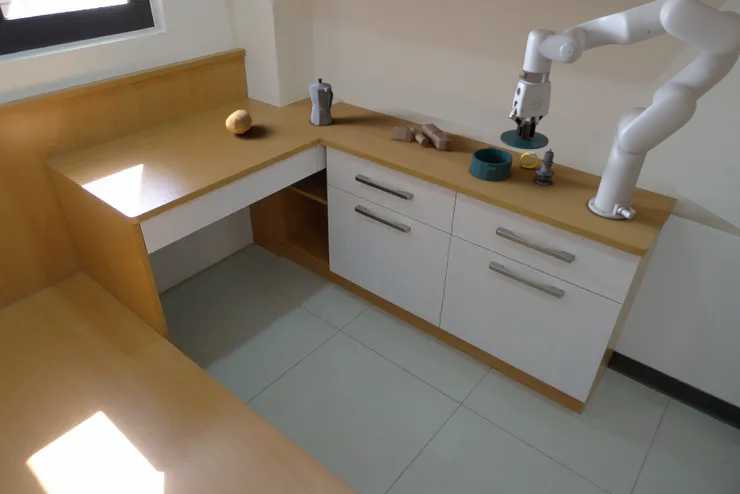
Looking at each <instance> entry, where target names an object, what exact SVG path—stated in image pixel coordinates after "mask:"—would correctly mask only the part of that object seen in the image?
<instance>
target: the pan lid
mask: <svg viewBox="0 0 740 494" xmlns="http://www.w3.org/2000/svg"><path fill="white" fill-rule="evenodd" d="M524 126H525V133H524V138H523V139H520V138H518V137H517V136H516V131H517V129H510V130H506V131H504V132H502V133H501V134H500V136H499V138H500V142H502V143H503V144H504V145H506V146H509V147H511V148H515V149H521V150H539V149H543V148H545V147H547V146H548V145H549V142H550V140H549V138H548V137H547V136H546V135H545V134H543V133H540V132H538V131H535V133H534V137H533V138H531V137H530V131H531V126H532V122H530V120H525V124H524Z"/></svg>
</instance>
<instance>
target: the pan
mask: <svg viewBox="0 0 740 494" xmlns="http://www.w3.org/2000/svg"><path fill="white" fill-rule="evenodd" d="M513 159H514V157H513V155H512V154H510V152H507V151H506V150H504V149H501V148H500V149H499V148H496V146H495V147H494V146H488V147H484V148H483V147H482V148H479V149H476V150H474V151H473V152H472V155H471V163H470V173H471V174H472V176H474V177H476V178H478V179H481V180H485V181H491V182H497V181H503V180H506V179H508V178H509V177H510V175H511V170H512V165H513V161H514V160H513Z"/></svg>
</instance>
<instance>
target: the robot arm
mask: <svg viewBox="0 0 740 494" xmlns="http://www.w3.org/2000/svg"><path fill="white" fill-rule="evenodd" d="M668 34H669V35H671V36H673V37H674V38H677V39H678V40H680V41H682V42H684V43H686V44H689V45H691V46H693V47H695V48H698V49H700V52H699V53H698V54H697V55H696V56H695V58H694V59H692V60H691V61H690V62H689V63H688V64H687V65H686V66H684V68H682V69H681V70H679V72H677V73H676V74H675V75H674V76H672V77H671V78H670V79H669V80H667V81H665V83H664V84H662V85H661V86H659V87H658V88H657V89H656V90H655V92H654V94H653V96H652V104H651V105H649V106H648V107H647V108H646V107H642V106H635V107H631V108H630V109H628V110H626V111H624V112H623V114H622V115H621V116H620V117H619V118H618V121H617V124H616V127H615V132H614V136H613V139H612V143H611V147H610V150H609V154H608V156H607V160H606V164H605V167H604V170H603V173H602V177H601V180H600V183H599V185H598V189H597V193H596V196H594V197H591V198H590V199H589V201H588V208H589V209H590V211H592V212H593V213H594V214H596V215H598V216H601V217H604V218H607V219H613V220H623V219H628V220H631V219H633V218H634V215H637V212H638V211H636V210H635V209H634V208H632V207H633V203H634V202H633V201H632V197H633V195H634V191H635V189H636V186H637V183H638V180H639V177H640V174H641V172H642V169H643V166H644V164H645V160H646V157H647V155H648V152H650V151H652V150H653V149H654V148H656V147H658V146H659V145H660V144H661V143H663V142H664V141H665V140H667V139H668V138H669V137H671V136H672V135H674V134H675V133H677V132H678V131H679V130H680V129H682V128H683V127H684V126H686V124H688V123H689V122H690V120H691V119H692V118H693V117H694V115H695V113H696V110H697V106H698V105H697V104H698V103H697V101H699V99H701V98H702V97H703V96H704V95H706V93H708V92H709V91H711V90H712V89H713V88H714V87H715V86H717V85H718V84H719V83H720V82H721V81H722V80H723V79H725V78H726V77H727V76H728V74H730V72H731V71H732V69H733V68H734V67H735V65H736V63H737V61H738V59H739V57H740V13H738V12H736V11H734V10H720V9H717V8H715V7H713V6H710V5H708V4H707V3H705V2H703V1H701V0H652V1H650V2H648V3H644V4H642V5H639V6H635V7H631V8H629V9H627V10H626V9H625V10H622V11H619V12H615V13H612V14H609V15H605V16H601V17H597V18H595V19H591V20H587V21H585V22H581V23H579V24H577V25H573V26H571V27H568V28H567V29H565V30H564V31H563V32H561V34H557V33H556V31H554V30H551V29H546V28H537V29H533V30H531V31H530V32H529V34H528V37H527V43H526V49H525V55H524V62H523V67H522V70H521V71H522V72H521V73H518V79H519V81H518V83H517V85H516V89H515V93H514V97H513V101H512V107H511V112H510V114H509V115H508V118H509V119H510V120H512V121H514V122H515V124H516V125H517V126H516V130H517V131H516V136H517V137H518V138H520V139H523V138H524V133H525V126H524V124H525V121H527V119H529V121H530V122H532V126H531V131H530V137H531V138H533V137H534V133H535V132H536V128H537V126H538V125H539V123H540V121H541V120H542V119H543V118H544V117H546V116H548V115H549V110H550V105H551V96H552V82H551V80H550V74H551V69H552V64H553V61H554V62H558V63H561V64H568V65H569V64H573V63H574V62H577V61H579V59H581V57H582V56H583V53H584V52H586V51H588V50H592V49H595V48H599V47H603V46H608V45H619V46H630V45H635V44H637V43H640V42H644V41H646V40H649V39H653V38H656V37H659V36H665V35H668Z"/></svg>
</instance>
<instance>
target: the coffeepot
mask: <svg viewBox="0 0 740 494" xmlns="http://www.w3.org/2000/svg"><path fill="white" fill-rule="evenodd" d="M317 81H318V82H317ZM317 81H314V82H310V84H309V85H308V88H309V89H308V90H309V93H310V99H311V102H312V106H311V107H312V109H311V116H310V123H311V124H312V125H315V126H321V127H322V126H328V125H331V124H332V123H333V117H332V112H331V108H332V106H333V100H334V91H333V90H332V89H333V86H332V85H331V83H327V82H323V78H321V77H320V78H319V77H318V79H317Z"/></svg>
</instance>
